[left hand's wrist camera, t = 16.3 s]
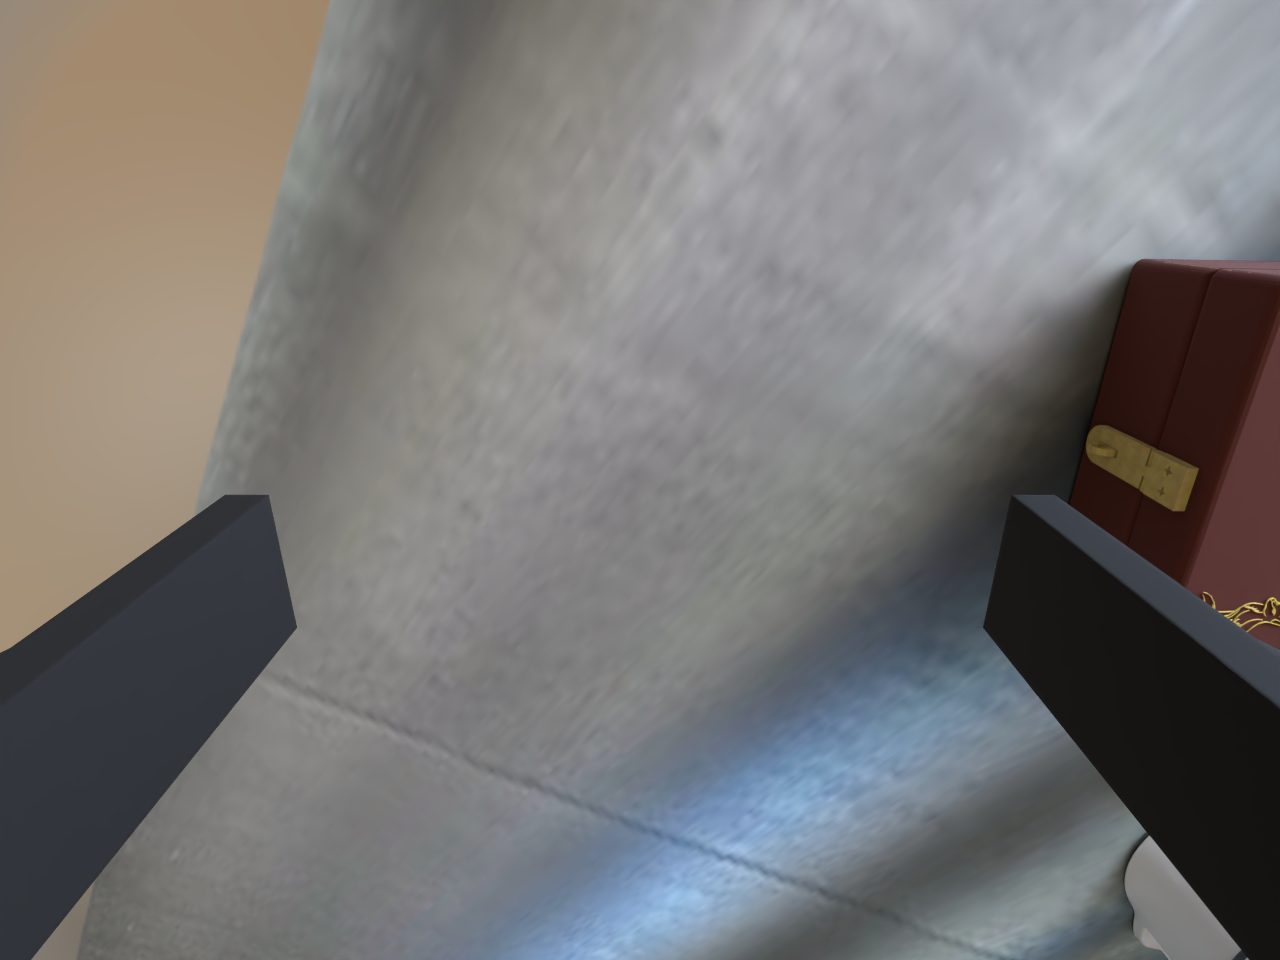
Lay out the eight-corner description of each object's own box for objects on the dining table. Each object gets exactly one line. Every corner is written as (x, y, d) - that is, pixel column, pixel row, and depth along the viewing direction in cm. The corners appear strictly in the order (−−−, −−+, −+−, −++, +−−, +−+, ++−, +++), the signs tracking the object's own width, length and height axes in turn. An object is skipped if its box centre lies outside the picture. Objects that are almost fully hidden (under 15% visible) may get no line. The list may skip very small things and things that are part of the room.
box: (1110, 258, 40) (1254, 276, 30) (1400, 263, 40) (1633, 283, 30) (1027, 582, 47) (1121, 675, 38) (1269, 586, 47) (1423, 680, 38)
